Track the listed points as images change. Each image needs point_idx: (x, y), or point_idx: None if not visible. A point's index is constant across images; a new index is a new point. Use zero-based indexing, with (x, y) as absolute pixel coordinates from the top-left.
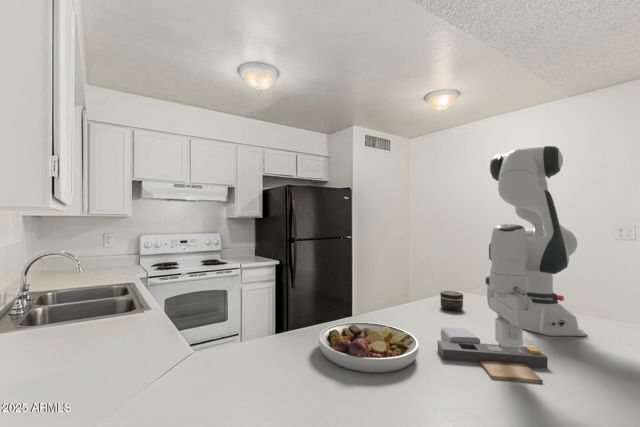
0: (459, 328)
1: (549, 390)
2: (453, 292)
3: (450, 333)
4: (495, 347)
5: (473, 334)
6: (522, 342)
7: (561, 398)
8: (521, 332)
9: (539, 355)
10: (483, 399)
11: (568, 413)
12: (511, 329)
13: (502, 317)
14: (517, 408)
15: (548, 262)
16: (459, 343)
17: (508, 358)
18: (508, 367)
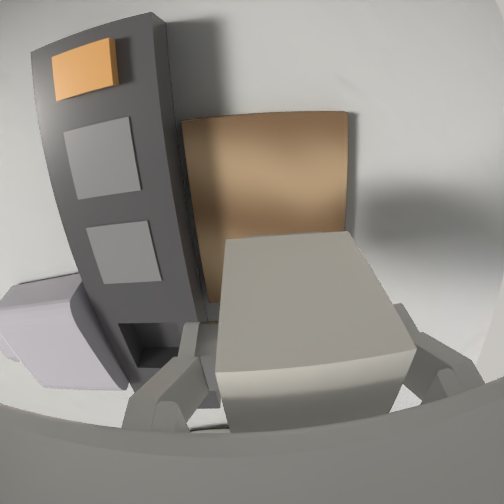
0: (14, 346)
1: (394, 116)
2: None
3: (88, 386)
4: (109, 247)
5: (39, 317)
6: (358, 249)
7: (438, 109)
8: (385, 302)
9: (136, 45)
10: (436, 322)
11: (497, 146)
12: (422, 389)
13: (189, 432)
14: (474, 263)
15: None
16: (133, 363)
17: (178, 199)
18: (247, 212)
